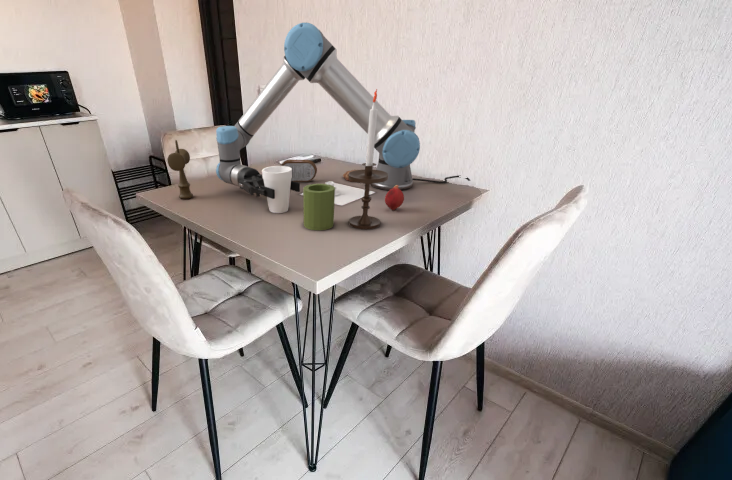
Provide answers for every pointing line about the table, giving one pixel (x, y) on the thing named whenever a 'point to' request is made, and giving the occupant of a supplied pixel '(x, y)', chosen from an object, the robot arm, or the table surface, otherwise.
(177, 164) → the kendama
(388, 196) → the onion
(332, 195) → the thick-walled green cup
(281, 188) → the foam cup
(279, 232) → the table surface
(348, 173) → the cookie
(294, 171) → the tin
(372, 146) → the candlestick
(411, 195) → the table surface
